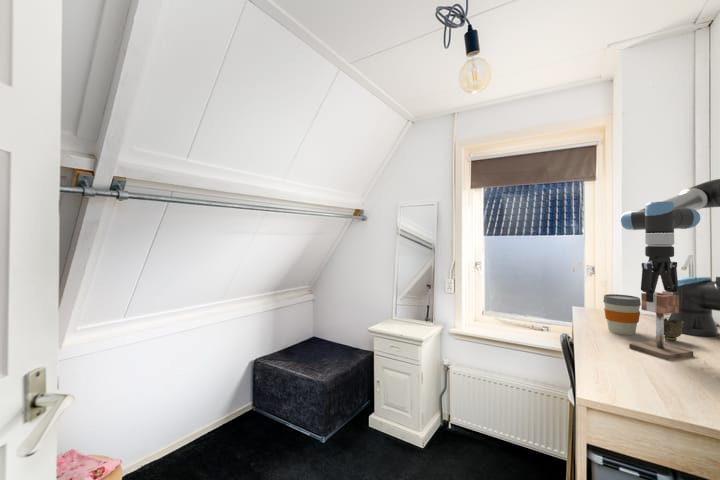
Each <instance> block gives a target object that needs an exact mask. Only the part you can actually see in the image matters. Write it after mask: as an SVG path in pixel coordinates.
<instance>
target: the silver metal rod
mask: <svg viewBox="0 0 720 480" xmlns="http://www.w3.org/2000/svg"><path fill="white" fill-rule="evenodd" d="M664 317H665V314H660V313H655V335H656V336H655V341H656V347H657V348H664V344H665V338H664V319H665V318H664Z"/></svg>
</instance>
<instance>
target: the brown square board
mask: <svg viewBox="0 0 720 480" xmlns="http://www.w3.org/2000/svg"><path fill="white" fill-rule="evenodd" d="M628 346H629V349H632V350H635V351H639V352H641V353H644V354H647V355H650V356H654V357H657V358H660V359H663V360H666V361H670V360H678V359H683V358H690V357H694V350H689V349H685V348H681V347H678V346H675V345H671V344H667V343H664V348H657V347H656V340H649V341H647V340H646V341H640V342H632V343H629V345H628Z"/></svg>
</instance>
